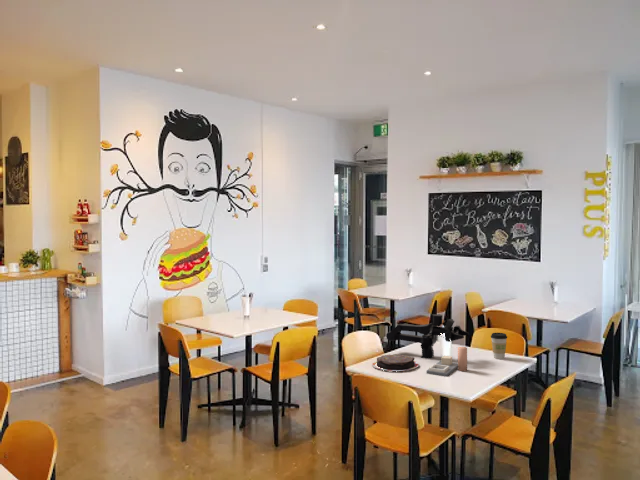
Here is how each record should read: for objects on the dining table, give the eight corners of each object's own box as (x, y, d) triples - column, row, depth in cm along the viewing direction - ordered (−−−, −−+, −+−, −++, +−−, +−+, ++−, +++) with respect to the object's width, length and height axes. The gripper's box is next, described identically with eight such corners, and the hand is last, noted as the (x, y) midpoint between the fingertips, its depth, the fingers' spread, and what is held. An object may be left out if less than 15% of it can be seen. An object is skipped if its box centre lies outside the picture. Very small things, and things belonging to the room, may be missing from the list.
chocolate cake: (383, 358, 334) (383, 347, 334) (425, 363, 320) (425, 352, 320) (364, 369, 310) (363, 358, 310) (408, 375, 296) (408, 364, 296)
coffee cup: (504, 361, 319) (504, 336, 319) (488, 358, 325) (488, 334, 325) (509, 357, 327) (509, 333, 326) (494, 355, 333) (493, 331, 332)
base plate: (426, 373, 298) (426, 363, 298) (440, 363, 318) (440, 354, 317) (447, 376, 292) (446, 366, 292) (459, 365, 311) (459, 356, 311)
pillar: (456, 369, 304) (455, 347, 303) (463, 368, 306) (462, 346, 306) (462, 372, 299) (461, 349, 299) (469, 370, 301) (469, 348, 301)
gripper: (436, 321, 318) (461, 325, 309) (447, 316, 333) (471, 319, 325) (436, 339, 319) (461, 344, 310) (447, 333, 334) (471, 337, 326)
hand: (466, 335), depth 318 cm, fingers open, 9 cm apart
